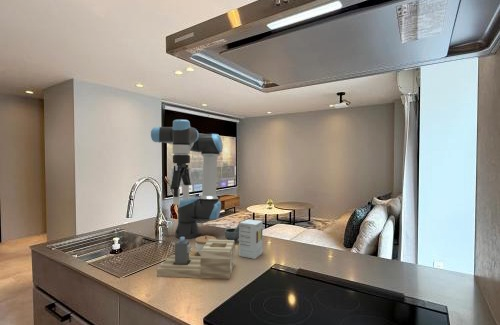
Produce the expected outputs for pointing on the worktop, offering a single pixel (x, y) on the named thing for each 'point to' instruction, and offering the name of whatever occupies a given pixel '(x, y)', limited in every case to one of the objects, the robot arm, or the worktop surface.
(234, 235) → the mortar and pestle
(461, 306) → the worktop surface
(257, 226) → the supplement box
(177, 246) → the plug
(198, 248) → the lidded jar
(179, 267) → the dock
